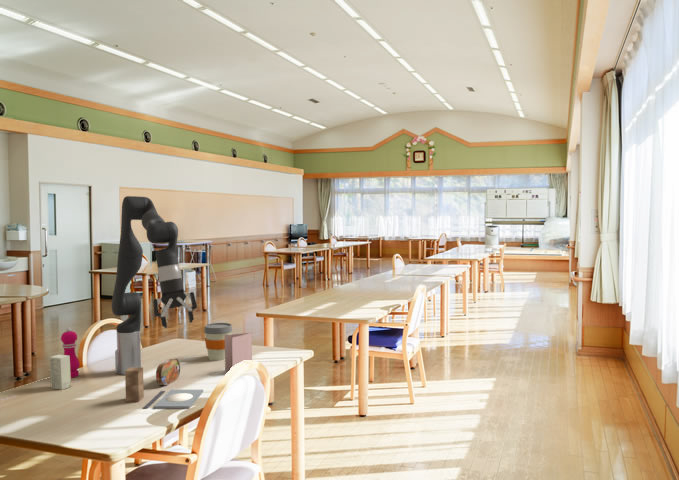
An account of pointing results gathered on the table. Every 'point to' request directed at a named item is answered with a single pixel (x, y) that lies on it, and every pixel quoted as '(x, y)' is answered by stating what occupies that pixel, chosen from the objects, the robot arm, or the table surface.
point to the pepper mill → (71, 350)
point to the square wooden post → (134, 384)
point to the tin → (168, 372)
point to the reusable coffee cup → (216, 339)
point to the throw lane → (175, 399)
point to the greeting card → (237, 349)
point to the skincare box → (60, 371)
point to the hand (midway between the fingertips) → (178, 325)
